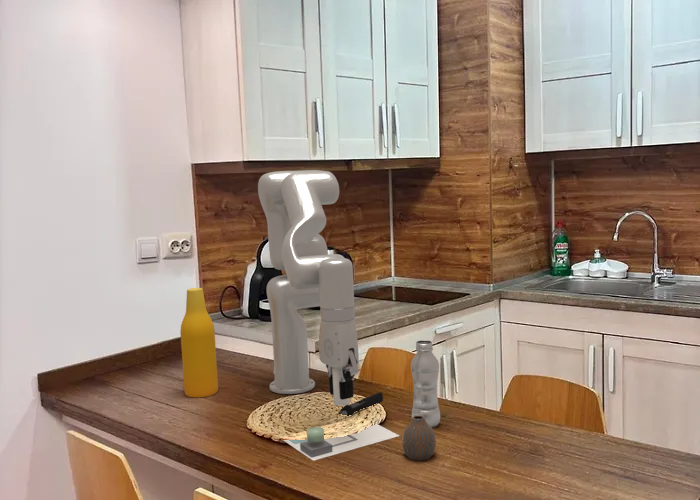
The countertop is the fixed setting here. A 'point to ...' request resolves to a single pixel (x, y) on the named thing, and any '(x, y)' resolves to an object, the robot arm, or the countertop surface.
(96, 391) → the countertop surface
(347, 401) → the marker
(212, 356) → the beer bottle
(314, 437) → the button
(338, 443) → the sheet
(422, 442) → the vase
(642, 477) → the countertop surface
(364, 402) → the electric trimmer
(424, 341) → the plastic bottle
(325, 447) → the button housing
